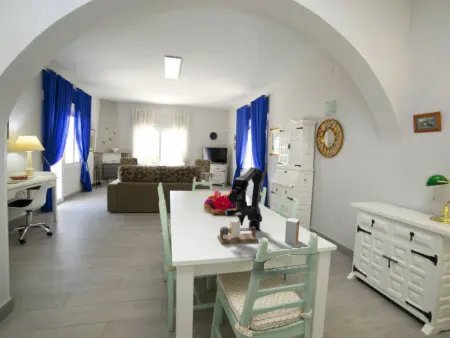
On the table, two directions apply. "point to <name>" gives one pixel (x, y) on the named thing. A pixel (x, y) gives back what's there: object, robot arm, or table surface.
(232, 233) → the sleeve
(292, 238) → the small box
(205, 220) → the table surface
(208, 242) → the table surface
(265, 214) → the table surface
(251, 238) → the rod stand
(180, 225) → the table surface
